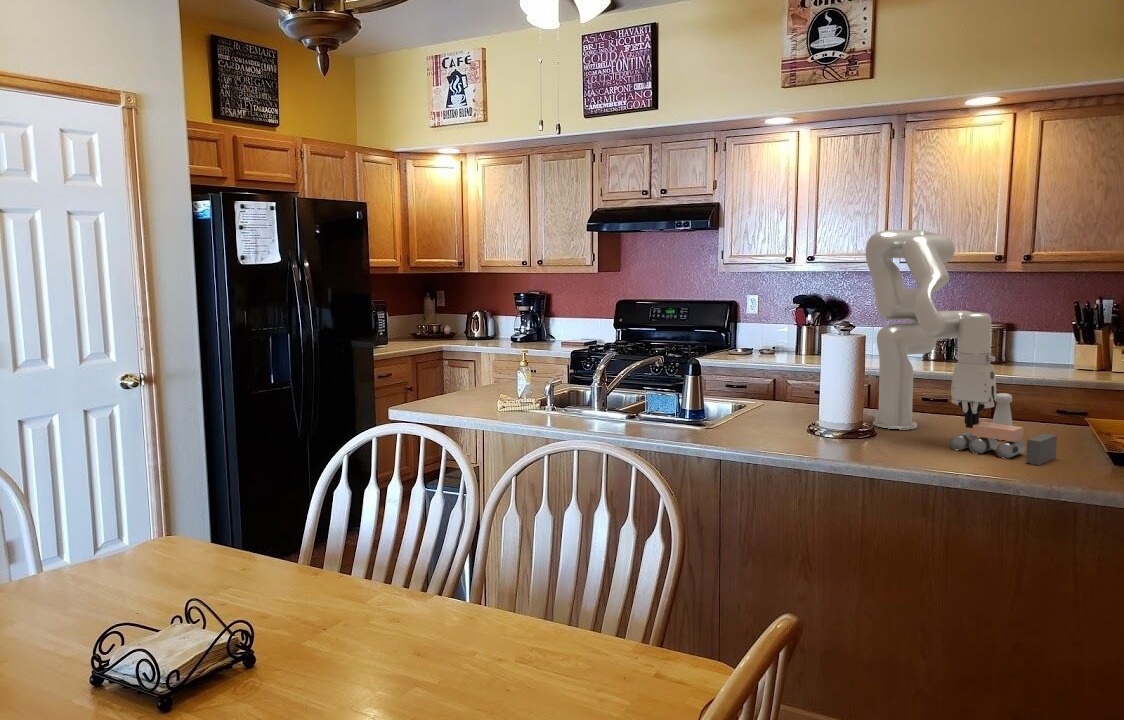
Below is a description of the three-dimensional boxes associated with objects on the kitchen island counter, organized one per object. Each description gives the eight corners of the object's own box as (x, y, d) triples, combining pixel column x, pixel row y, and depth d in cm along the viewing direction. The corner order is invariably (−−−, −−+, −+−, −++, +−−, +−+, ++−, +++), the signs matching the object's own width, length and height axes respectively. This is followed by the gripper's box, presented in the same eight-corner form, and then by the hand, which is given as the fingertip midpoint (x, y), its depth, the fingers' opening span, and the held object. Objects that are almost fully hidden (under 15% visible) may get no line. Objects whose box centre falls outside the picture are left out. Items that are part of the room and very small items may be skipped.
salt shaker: (1001, 442, 217) (1003, 396, 216) (985, 437, 223) (986, 392, 221) (1018, 440, 219) (1020, 394, 217) (1001, 436, 224) (1003, 391, 223)
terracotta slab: (972, 435, 206) (972, 425, 206) (982, 432, 210) (983, 421, 210) (1012, 441, 198) (1013, 430, 198) (1022, 437, 202) (1023, 427, 202)
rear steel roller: (948, 448, 211) (950, 434, 210) (961, 444, 216) (963, 430, 215) (963, 452, 208) (965, 438, 207) (976, 448, 212) (978, 434, 212)
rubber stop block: (1026, 463, 195) (1027, 439, 194) (1042, 456, 201) (1043, 433, 200) (1039, 465, 192) (1040, 441, 191) (1055, 458, 198) (1056, 435, 198)
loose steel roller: (996, 457, 201) (996, 442, 201) (1008, 453, 206) (1008, 438, 206) (1012, 460, 198) (1012, 444, 198) (1025, 455, 203) (1025, 439, 202)
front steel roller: (967, 450, 207) (970, 436, 206) (980, 446, 212) (984, 432, 210) (982, 456, 204) (986, 442, 203) (995, 451, 209) (999, 438, 207)
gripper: (1010, 360, 203) (1007, 429, 205) (952, 356, 215) (950, 421, 217) (997, 362, 199) (994, 433, 201) (938, 358, 211) (936, 425, 213)
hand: (971, 427), depth 209 cm, fingers closed
